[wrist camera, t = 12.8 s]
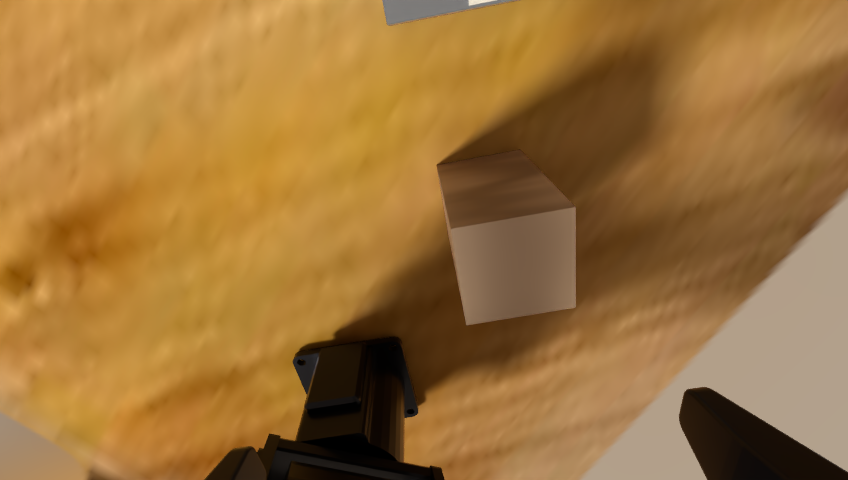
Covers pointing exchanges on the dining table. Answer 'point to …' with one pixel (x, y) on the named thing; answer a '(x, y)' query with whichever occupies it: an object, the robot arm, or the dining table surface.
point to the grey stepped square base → (430, 8)
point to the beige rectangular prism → (508, 237)
